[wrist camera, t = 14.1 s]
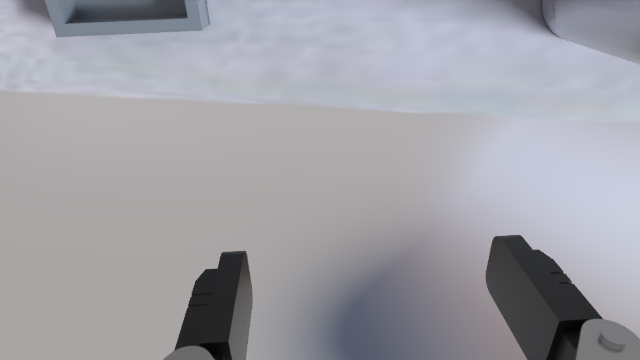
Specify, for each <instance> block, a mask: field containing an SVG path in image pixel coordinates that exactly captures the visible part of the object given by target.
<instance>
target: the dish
mask: <svg viewBox="0 0 640 360" xmlns="http://www.w3.org/2000/svg"><path fill="white" fill-rule="evenodd" d="M45 3H46V6H47V9H48V12H49V15H50V18H51V21H52V24H53V27H54V31H55V34H56V37H71V36H92V35H114V34H135V33H157V32H179V31H200V30H203V29H204V28H206V27H207V26H208V25H209V24H210V22H209V16H208V9H207V3H206V0H45Z"/></svg>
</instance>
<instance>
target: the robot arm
mask: <svg viewBox="0 0 640 360" xmlns="http://www.w3.org/2000/svg"><path fill="white" fill-rule="evenodd" d="M542 11H543V16H544V19H545V22H546V24H547V25H548V27H549V28H550V30H551V31H552V32H553V33H555V34H556V35H557V36H558V37H561V38H563V39H565V40H568V41H571V42H574V43H577V44H580V45H583V46H586V47H589V48H591V49H594V50H597V51H600V52H604V53H607V54H610V55H613V56H616V57H619V58H622V59H625V60H628V61H631V62H634V63H637V64H640V0H542ZM486 283H487V287H488V290H489V292H490V294H491V296H492V298H493V299H494V301H495V303H496V305H497V307H498V308H499V310H500V312H501V314H502V315H503V317H504V319H505V321H506V322H507V324H508V326H509V328H510V329H511V331H512V333H513V335H514V336H515V338H516V340H517V342H518V343H519V345H520V347H521V349H522V351H523V352H524V354H525V356H526V358H527V359H528V360H640V339H639V338H638V337H637V336H636V335H635V334H634V333H633V332H632V331H630V330H629V329H627V328H626V327H624V326H622V325H620V324H618V323H615V322H613V321H609V320H604V319H603V318H602V317H601V316H600V315H599V314H598V312H597V311H596V310H595V309H594V308H593V306H592V305H591V304H590V303H589V302H588V301H587V299H586V298H585V297H584V296H583V295H582V293H581V292H580V291H579V290H578V289H577V287H576V286H575V285H574V284H572V283H571V280H570V279H569V278H568V277H567V275H566V274H564V273H563V271H562V269H561V268H560V267H559V266H558V265H557V263H556V262H555V261H554V260H553V259H551V258H550V257H549V256H547V255H546V254H544V253H543V252H541V251H540V250H532V248H531V247H530V246H529V245H528V243H527V242H526V241H525V240H524V238H523V237H522V236H520V235H509V236H496V237H494V239H493V241H492V245H491V250H490V255H489V260H488V265H487V270H486ZM188 306H189V307H188V308H187V311H186V314H185V318H184V321H183V324H182V327H181V331H180V334H179V337H178V341H177V344H176V347H175V350H174V351H173V352H172V353H171V354H169V355H168V356H167V357H166V358H164V360H246V352H247V344H248V335H249V327H250V318H251V310H252V285H251V279H250V272H249V265H248V259H247V254H246V251H234V252H222V254H221V257H220V261H219V265H218V269H206V270H205V271H204V272H203V273H202V274H201V275H200V277H199V278H198V279H197V280H196V281H195V285H194V288H193V291H192V297H191V298H190V301H189V304H188Z"/></svg>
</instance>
